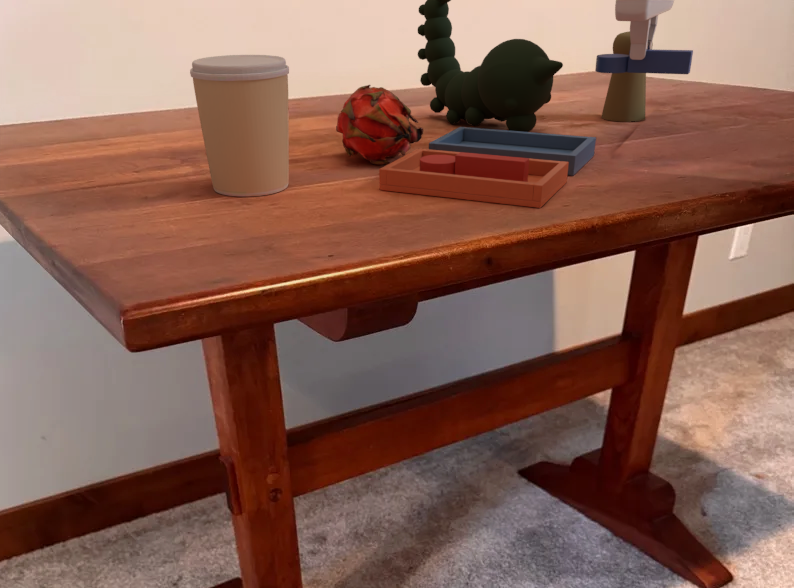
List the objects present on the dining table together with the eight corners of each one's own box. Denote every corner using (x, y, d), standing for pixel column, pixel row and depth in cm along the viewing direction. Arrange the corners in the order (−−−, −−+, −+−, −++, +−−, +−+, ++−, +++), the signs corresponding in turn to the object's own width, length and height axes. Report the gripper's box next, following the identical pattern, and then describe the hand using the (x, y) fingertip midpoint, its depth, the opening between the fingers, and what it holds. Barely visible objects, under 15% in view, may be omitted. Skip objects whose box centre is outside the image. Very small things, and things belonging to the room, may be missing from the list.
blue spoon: (691, 71, 97) (694, 49, 96) (686, 75, 94) (690, 52, 93) (599, 68, 102) (601, 47, 100) (592, 72, 99) (594, 50, 97)
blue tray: (594, 155, 92) (596, 137, 91) (573, 175, 84) (575, 155, 83) (459, 144, 98) (459, 126, 97) (428, 162, 90) (428, 142, 89)
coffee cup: (308, 177, 85) (301, 54, 79) (278, 201, 77) (267, 67, 71) (226, 173, 87) (213, 53, 81) (189, 196, 79) (171, 65, 73)
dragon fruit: (356, 160, 98) (407, 197, 90) (305, 125, 92) (355, 161, 84) (395, 99, 96) (450, 131, 88) (346, 59, 90) (401, 89, 82)
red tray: (566, 182, 82) (568, 161, 81) (540, 208, 74) (542, 185, 73) (418, 167, 88) (418, 148, 87) (379, 190, 80) (379, 168, 79)
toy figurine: (406, 130, 114) (533, 142, 96) (398, -19, 106) (535, -37, 88) (456, 122, 119) (585, 132, 101) (452, -22, 111) (593, -39, 92)
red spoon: (530, 181, 80) (533, 155, 79) (519, 190, 77) (521, 164, 76) (428, 170, 85) (428, 146, 83) (413, 179, 81) (413, 154, 80)
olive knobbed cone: (623, 123, 109) (635, 34, 103) (592, 116, 113) (601, 31, 108) (654, 118, 111) (667, 32, 106) (622, 112, 116) (633, 28, 110)
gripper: (671, -78, 81) (652, 68, 88) (695, -75, 97) (678, 49, 104) (608, -76, 84) (595, 67, 90) (642, -72, 100) (629, 48, 106)
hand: (639, 57), depth 97 cm, fingers closed on blue spoon, 1 cm apart
